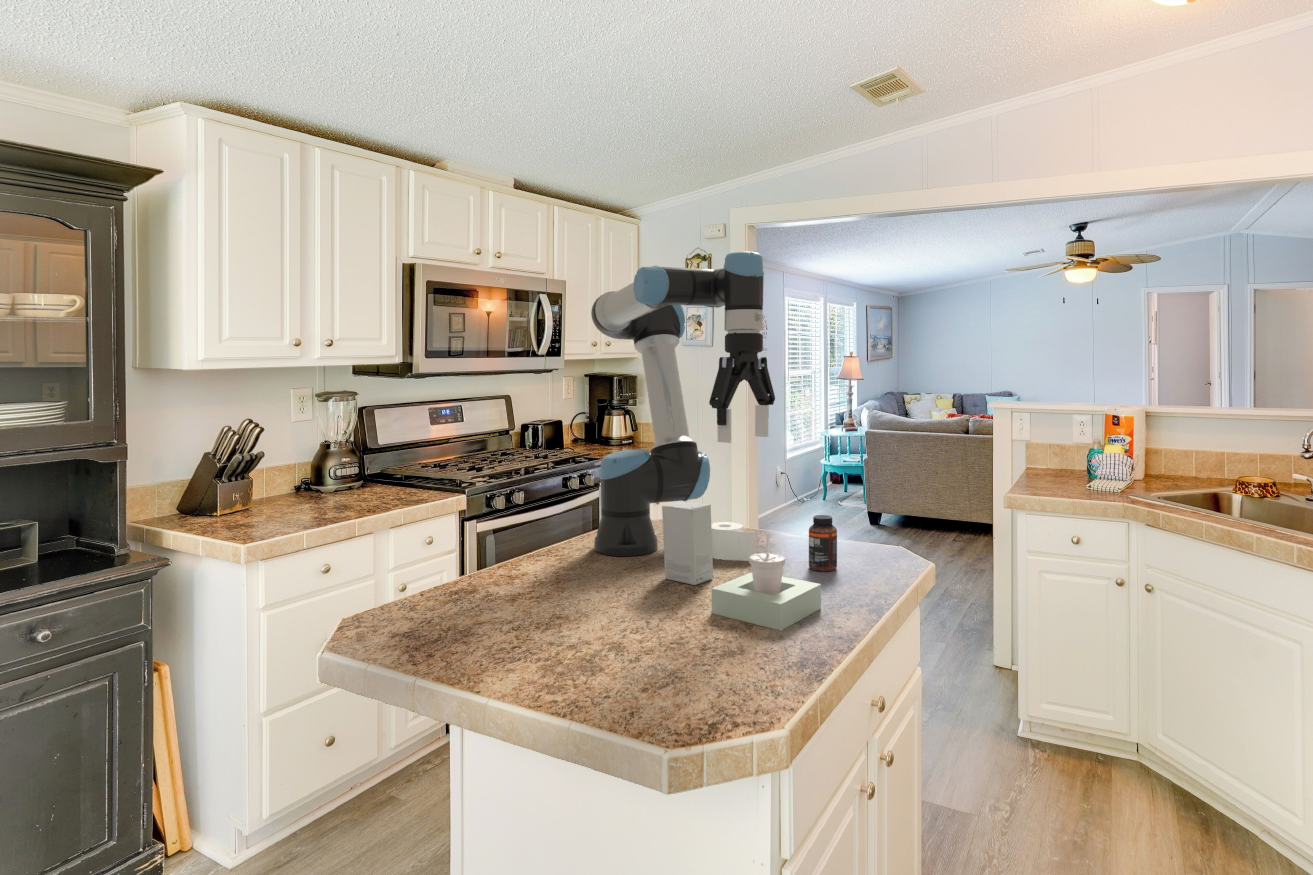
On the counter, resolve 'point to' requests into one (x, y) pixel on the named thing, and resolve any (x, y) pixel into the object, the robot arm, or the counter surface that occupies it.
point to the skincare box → (687, 542)
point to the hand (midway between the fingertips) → (743, 439)
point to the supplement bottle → (822, 544)
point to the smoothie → (767, 571)
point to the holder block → (766, 602)
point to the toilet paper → (732, 542)
